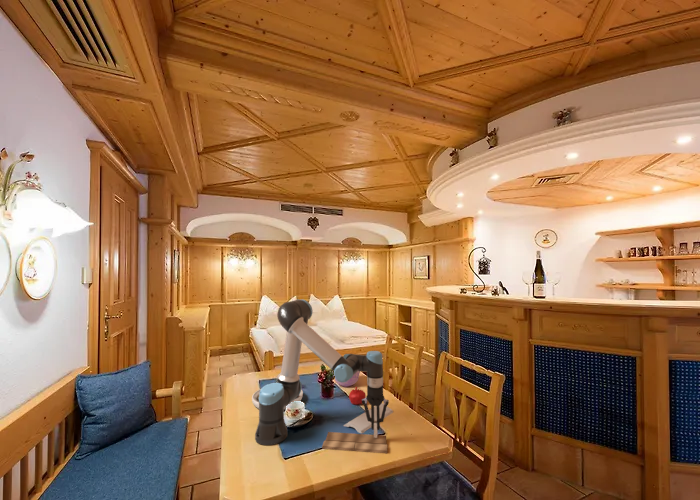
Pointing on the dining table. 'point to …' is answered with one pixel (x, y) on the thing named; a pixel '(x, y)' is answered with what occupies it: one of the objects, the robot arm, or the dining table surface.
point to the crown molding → (361, 421)
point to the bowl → (256, 398)
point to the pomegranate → (356, 396)
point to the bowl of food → (350, 380)
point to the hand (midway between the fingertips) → (375, 436)
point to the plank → (356, 438)
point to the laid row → (355, 446)
